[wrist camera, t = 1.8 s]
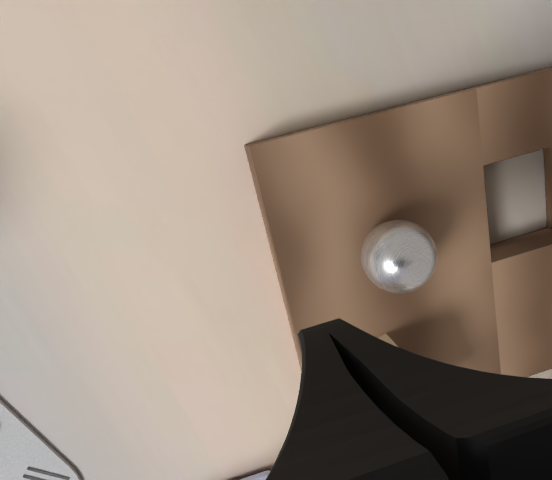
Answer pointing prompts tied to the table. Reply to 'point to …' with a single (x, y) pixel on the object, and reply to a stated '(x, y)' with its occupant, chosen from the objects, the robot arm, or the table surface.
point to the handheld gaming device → (28, 452)
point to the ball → (399, 256)
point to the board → (423, 211)
